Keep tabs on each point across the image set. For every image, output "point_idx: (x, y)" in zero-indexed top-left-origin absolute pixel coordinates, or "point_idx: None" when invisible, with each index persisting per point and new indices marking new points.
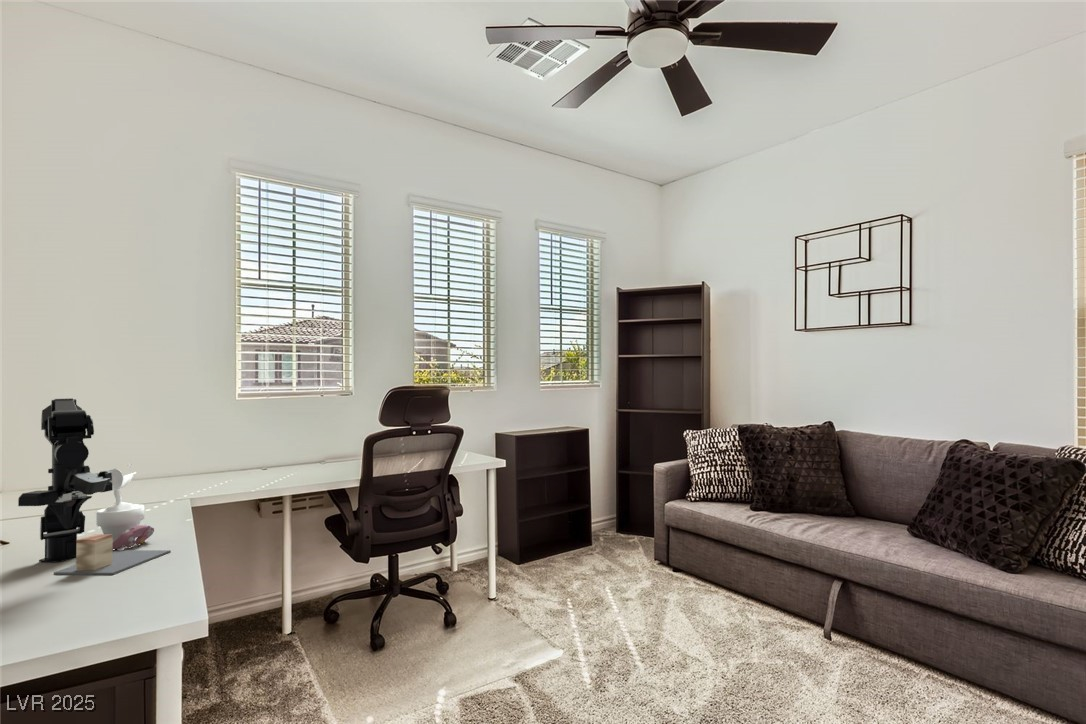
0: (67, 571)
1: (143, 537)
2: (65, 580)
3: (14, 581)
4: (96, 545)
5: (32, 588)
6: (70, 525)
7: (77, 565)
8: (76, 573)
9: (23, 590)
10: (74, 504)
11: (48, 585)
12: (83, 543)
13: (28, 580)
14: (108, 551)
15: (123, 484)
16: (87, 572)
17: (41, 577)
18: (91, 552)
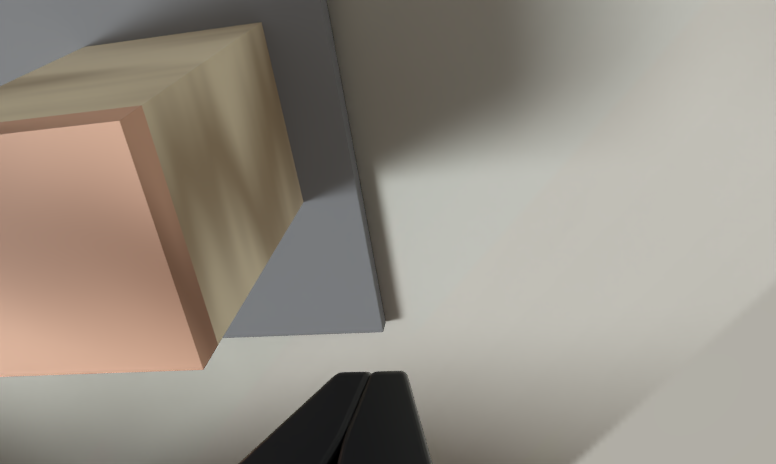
0: (344, 244)
1: None
2: (491, 73)
3: (554, 443)
4: (139, 93)
5: (704, 158)
6: (367, 394)
7: (290, 209)
8: (347, 138)
9: (754, 185)
10: None
11: (625, 93)
12: (194, 259)
13: (525, 374)
14: (50, 78)
15: None
16: (325, 28)
17: (455, 346)
18: (207, 112)
